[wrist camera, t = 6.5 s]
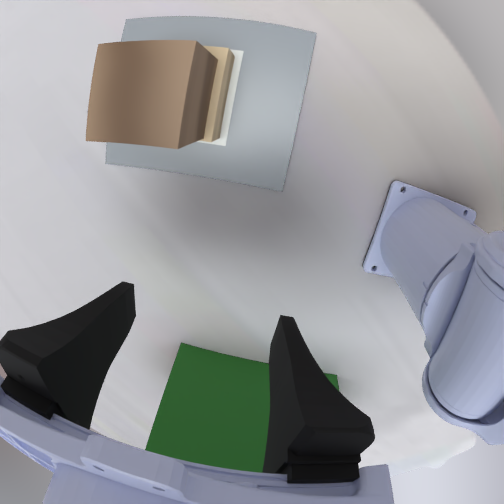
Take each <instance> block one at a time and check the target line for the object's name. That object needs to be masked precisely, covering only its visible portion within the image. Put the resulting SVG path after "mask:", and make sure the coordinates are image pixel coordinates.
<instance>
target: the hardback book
mask: <svg viewBox="0 0 504 504" xmlns="http://www.w3.org/2000/svg"><path fill="white" fill-rule="evenodd" d="M324 374H325V376H326V377H327V378H328V379H329V381H330V382H331V383H332V384H333V385H334V386H335V387H336V389H337V390H338V391H339V386H338V380H337V375H334V374H327V373H324ZM269 414H270V382H269V364H268V363H263V362H258V361H253V360H248V359H244V358H239V357H235V356H231V355H226V354H222V353H218V352H214V351H210V350H206V349H202V348H198V347H195V346H191V345H187V344H184V343H181V345H180V348H179V350H178V353H177V356H176V359H175V362H174V365H173V367H172V370H171V373H170V376H169V379H168V382H167V385H166V388H165V391H164V394H163V397H162V400H161V403H160V405H159V409H158V412H157V415H156V418H155V421H154V424H153V427H152V430H151V433H150V436H149V439H148V442H147V446H146V449H145V450H146V451H150V452H153V453H156V454H160V455H164V456H168V457H171V458H175V459H180V460H184V461H188V462H193V463H198V464H203V465H208V466H214V467H220V468H226V469H233V470H240V471H249V472H258V473H262V471H263V465H264V458H265V451H266V443H267V434H268V425H269Z"/></svg>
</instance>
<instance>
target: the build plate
mask: <svg viewBox="0 0 504 504" xmlns="http://www.w3.org/2000/svg"><path fill="white" fill-rule="evenodd" d="M315 38H316V33H315V32H311V31H306V30H302V29H297V28H293V27H288V26H282V25H277V24H271V23H265V22H258V21H250V20H241V19H231V18H218V17H196V16H170V17H148V18H136V19H126V22H125V26H124V30H123V34H122V39H121V42H125V41H141V40H193V41H198V42H199V43H200V44H201V45H202V46H214V47H225V48H229V49H230V50H231V52H232V53H233V54H234V56H235V59H234V64H233V68H232V73H231V78H230V84H229V89H228V94H227V99H226V105H225V110H224V116H223V121H222V127H221V133H220V138H219V139H217V140H215V141H213V142H206V141H196V142H194V143H192V144H189V145H187V146H184V147H182V148H180V149H171V148H163V147H154V146H145V145H135V144H124V143H111V142H107V145H106V163H105V164H112V165H121V166H129V167H138V168H145V169H153V170H160V171H167V172H174V173H181V174H188V175H194V176H200V177H206V178H212V179H218V180H224V181H229V182H235V183H240V184H245V185H251V186H256V187H261V188H266V189H271V190H275V191H280V192H282V191H283V187H284V182H285V178H286V173H287V169H288V165H289V160H290V156H291V151H292V147H293V142H294V138H295V133H296V129H297V124H298V119H299V115H300V110H301V105H302V101H303V96H304V91H305V87H306V82H307V77H308V72H309V68H310V63H311V58H312V53H313V48H314V43H315Z"/></svg>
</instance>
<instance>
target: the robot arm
mask: <svg viewBox="0 0 504 504" xmlns="http://www.w3.org/2000/svg"><path fill="white" fill-rule="evenodd" d="M401 187H404V191H402V192H401V191H400V190H401ZM464 211H465V213H464ZM463 213H464V214H463ZM475 218H476V212H475V211H474V210H473V209H470V208H468V207H466V206H463V205H461V204H459V203H456V202H454V201H451V200H449V199H446V198H444V197H441V196H439V195H436V194H434V193H431V192H428V191H426V190H423V189H420V188H418V187H415V186H412V185H409V184H406V183H403V182H400V181H394V182H393V183H392V184H391V187H390V190H389V193H388V196H387V199H386V202H385V205H384V208H383V211H382V214H381V217H380V220H379V223H378V226H377V229H376V231H375V234H374V237H373V240H372V242H371V245H370V248H369V250H368V253H367V255H366V258H365V261H364V263H363V269H364V271H365V272H368V273H373V274H378V275H383V276H388V277H393V278H394V279H395V280H396V282H397V284H398V285H399V287H400V289H401V290H402V292H403V294H404V296H405V297H406V299H407V301H408V303H409V304H410V306H411V308H412V310H413V312H414V313H415V315H416V317H417V319H418V321H419V323H420V324H421V326H422V328H423V330H424V332H425V335H426V341H425V343H424V346H425V348H426V350H427V352H428V354H429V357H430V360H429V362H428V363H427V365H426V367H425V369H424V372H423V377H422V387H423V392H424V395H425V398H426V400H427V402H428V404H429V405H430V407H431V408H432V409H433V411H434V412H435V413H436V414H437V415H438V416H439V417H441V418H442V419H443V420H445V421H446V422H448V423H450V424H453V425H456V426H459V427H463V428H466V429H468V430H471V431H473V432H474V433H476V434H477V435H479V436H480V437H481V438H482V439H483V440H484V441H485V442H486V443H487V444H490V445H498V444H504V231H494V232H491V233H489V234H487V233H486V232H485V231H484V230H482V229H481V228H480V227H478V226H477V225H476V224H474V221H475ZM373 266H376V267H375V268H374V269H372V267H373ZM135 317H136V311H135V296H134V284H131V283H127V282H121V283H120V284H118V285H116V286H115V287H113V288H112V289H110V290H109V291H107V292H106V293H104V294H102V295H101V296H99V297H98V298H96V299H94V300H93V301H91V302H89V303H88V304H86V305H84V306H82V307H81V308H79V309H77V310H75V311H73V312H71V313H69V314H67V315H65V316H62V317H60V318H57V319H55V320H52V321H49V322H46V323H43V324H40V325H36V326H32V327H28V328H23V329H17V330H10V331H8V332H7V333H6V334H5V335H4V337H3V338H2V339H1V340H0V363H1V365H2V367H3V369H4V371H5V372H6V374H7V377H6V378H5V380H4V378H3V377H1V376H0V437H2V438H3V439H5V440H6V441H7V442H9V443H10V444H11V445H12V446H14V447H15V448H17V449H18V450H19V451H21V452H22V453H24V454H25V455H27V456H28V457H30V458H31V459H33V460H34V461H36V462H37V463H39V464H40V465H42V466H44V467H45V468H47V469H48V470H50V471H52V472H53V473H54V474H53V476H52V479H51V481H50V484H49V486H48V489H47V492H46V494H45V497H44V500H43V502H42V504H394V500H393V492H392V486H391V480H390V474H389V468H388V465H387V464H384V465H375V466H367V467H362V468H360V469H359V467H358V463H359V462H360V461H361V457H360V454H361V453H362V452H363V451H364V450H365V449H367V448H368V447H369V446H370V445H371V444H372V443H373V441H374V439H375V434H374V429H373V425H372V422H371V419H370V417H368V416H367V415H366V414H364V413H363V412H362V411H360V410H359V409H358V408H356V407H355V406H354V405H353V404H352V403H351V402H350V401H348V400H347V399H346V398H345V397H344V396H343V395H342V394H341V393H340V392H339V391H338V390H337V389H336V387H335V386H334V385H333V384H332V383H331V382H330V381H329V379H328V378H327V377H326V376H325V374H324V373H323V371H322V370H321V369H320V367H319V366H318V364H317V363H316V361H315V359H314V358H313V356H312V354H311V353H310V351H309V349H308V347H307V345H306V343H305V341H304V339H303V337H302V335H301V333H300V331H299V329H298V327H297V324H296V322H295V320H294V318H293V317H289V316H283V315H280V318H279V321H278V324H277V327H276V330H275V333H274V336H273V339H272V342H271V346H270V357H269V382H270V414H269V425H268V434H267V443H266V451H265V458H264V465H263V471H262V473H258V472H249V471H240V470H233V469H226V468H220V467H214V466H208V465H203V464H198V463H193V462H188V461H184V460H180V459H175V458H171V457H168V456H164V455H160V454H156V453H153V452H150V451H146V450H143V449H140V448H137V447H133V446H130V445H127V444H125V443H122V442H119V441H116V440H113V439H111V438H108V437H106V436H103V435H100V434H98V433H95V432H93V431H91V430H89V429H90V425H91V420H92V416H93V413H94V409H95V406H96V402H97V399H98V396H99V393H100V390H101V387H102V384H103V382H104V379H105V377H106V374H107V372H108V369H109V367H110V365H111V363H112V362H113V360H114V358H115V356H116V355H117V353H118V351H119V349H120V347H121V346H122V344H123V342H124V340H125V339H126V337H127V335H128V333H129V331H130V329H131V327H132V324H133V322H134V319H135Z"/></svg>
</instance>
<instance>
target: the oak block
mask: <svg viewBox="0 0 504 504" xmlns="http://www.w3.org/2000/svg"><path fill="white" fill-rule="evenodd" d="M203 47H204V48H206V49H207V50H208V51H209V52H210V53H211V54H212V55H214V56H215V57H216V58H217V59H218V63H217V67H216V72H215V77H214V83H213V88H212V93H211V99H210V104H209V110H208V116H207V121H206V127H205V134H204V139H201V140H199V141H206V142H213V141H215V140H217V139H219V138H220V133H221V127H222V121H223V116H224V110H225V105H226V99H227V94H228V89H229V84H230V78H231V73H232V68H233V64H234V59H235V56H234V54H233V53H232V52H231V50H230V49H229V48H225V47H214V46H203Z"/></svg>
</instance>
